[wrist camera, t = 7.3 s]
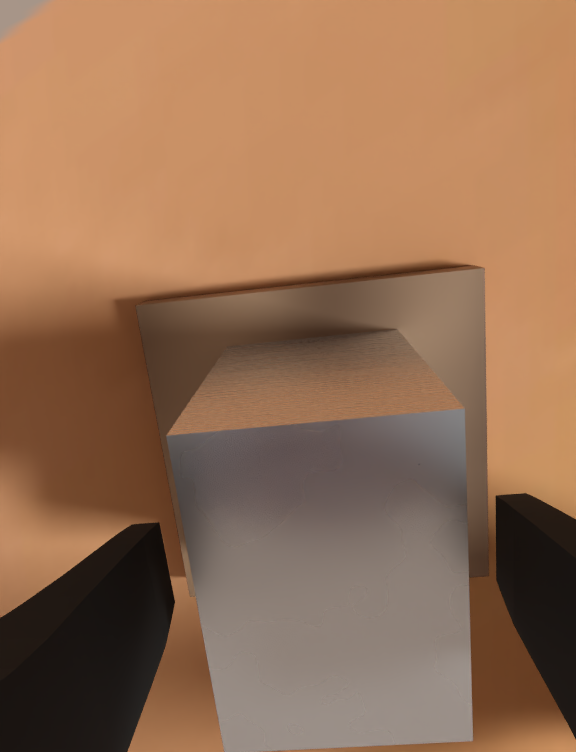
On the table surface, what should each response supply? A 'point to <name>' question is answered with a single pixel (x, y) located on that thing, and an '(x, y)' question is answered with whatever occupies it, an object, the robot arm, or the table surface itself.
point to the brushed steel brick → (329, 543)
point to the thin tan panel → (328, 318)
